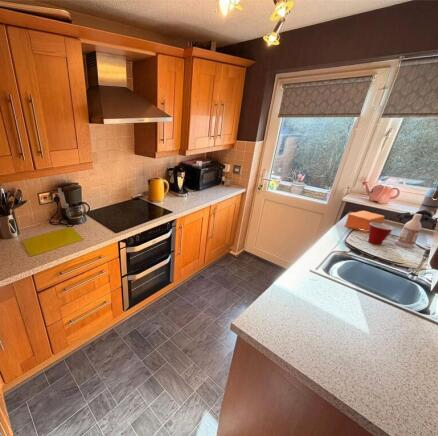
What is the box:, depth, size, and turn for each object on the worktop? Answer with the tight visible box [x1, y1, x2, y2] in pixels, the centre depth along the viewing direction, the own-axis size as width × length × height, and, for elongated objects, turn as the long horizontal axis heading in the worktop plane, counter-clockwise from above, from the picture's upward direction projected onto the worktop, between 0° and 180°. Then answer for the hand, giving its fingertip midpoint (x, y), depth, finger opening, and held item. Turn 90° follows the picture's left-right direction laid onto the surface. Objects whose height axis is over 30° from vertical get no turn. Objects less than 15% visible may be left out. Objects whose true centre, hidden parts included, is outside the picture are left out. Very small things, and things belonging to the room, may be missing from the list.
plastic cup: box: [368, 223, 394, 246], centre depth 140 cm, size 11×11×12 cm
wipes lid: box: [347, 210, 386, 221], centre depth 161 cm, size 17×13×1 cm
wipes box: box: [344, 215, 385, 233], centre depth 163 cm, size 17×13×9 cm
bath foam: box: [396, 213, 423, 249], centre depth 136 cm, size 7×7×20 cm
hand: (416, 222), depth 139 cm, fingers open, 13 cm apart
